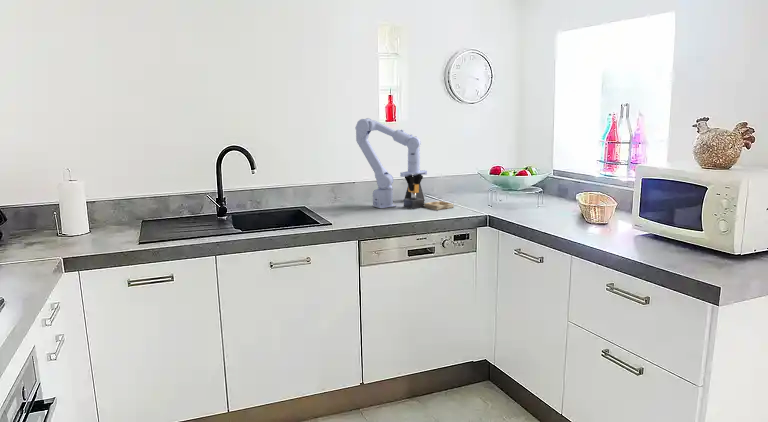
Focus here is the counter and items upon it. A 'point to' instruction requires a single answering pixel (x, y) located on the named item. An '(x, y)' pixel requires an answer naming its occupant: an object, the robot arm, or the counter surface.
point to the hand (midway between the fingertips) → (413, 190)
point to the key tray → (438, 205)
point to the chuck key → (414, 191)
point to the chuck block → (414, 203)
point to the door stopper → (418, 195)
